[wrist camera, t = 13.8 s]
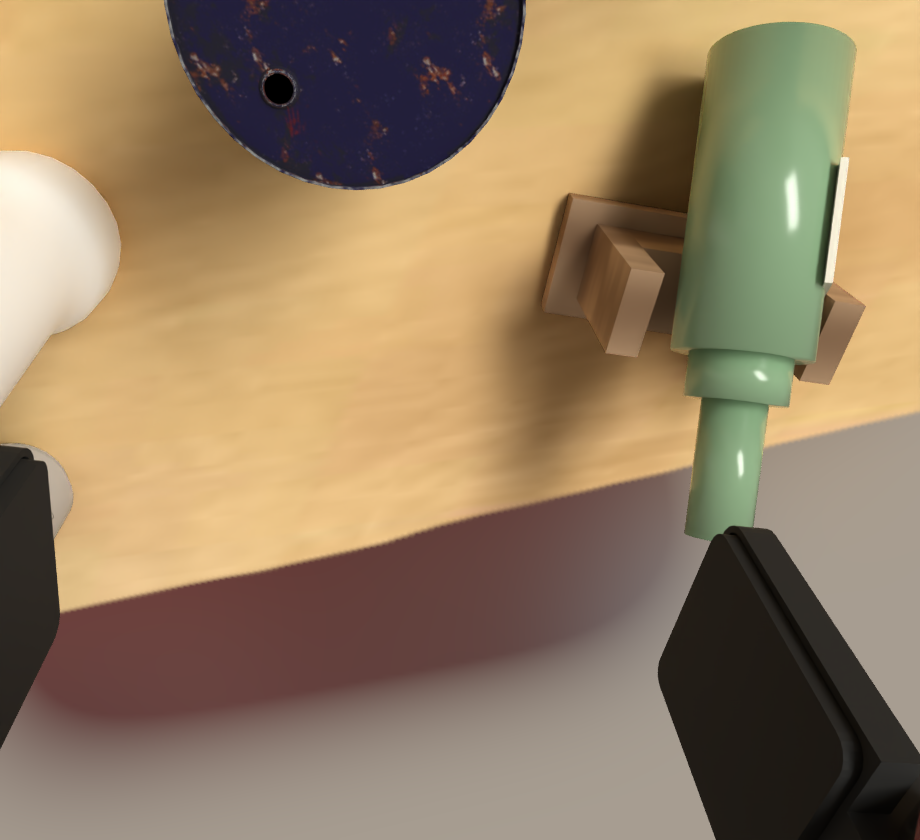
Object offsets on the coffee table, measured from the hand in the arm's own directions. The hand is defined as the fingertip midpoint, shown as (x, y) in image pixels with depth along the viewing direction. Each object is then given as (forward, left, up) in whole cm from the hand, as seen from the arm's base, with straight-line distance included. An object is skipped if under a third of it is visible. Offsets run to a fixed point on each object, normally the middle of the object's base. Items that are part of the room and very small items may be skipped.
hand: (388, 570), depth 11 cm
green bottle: (-7, +16, -28) cm, 33 cm away
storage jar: (-6, -2, -31) cm, 31 cm away
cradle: (+4, +16, -30) cm, 34 cm away
